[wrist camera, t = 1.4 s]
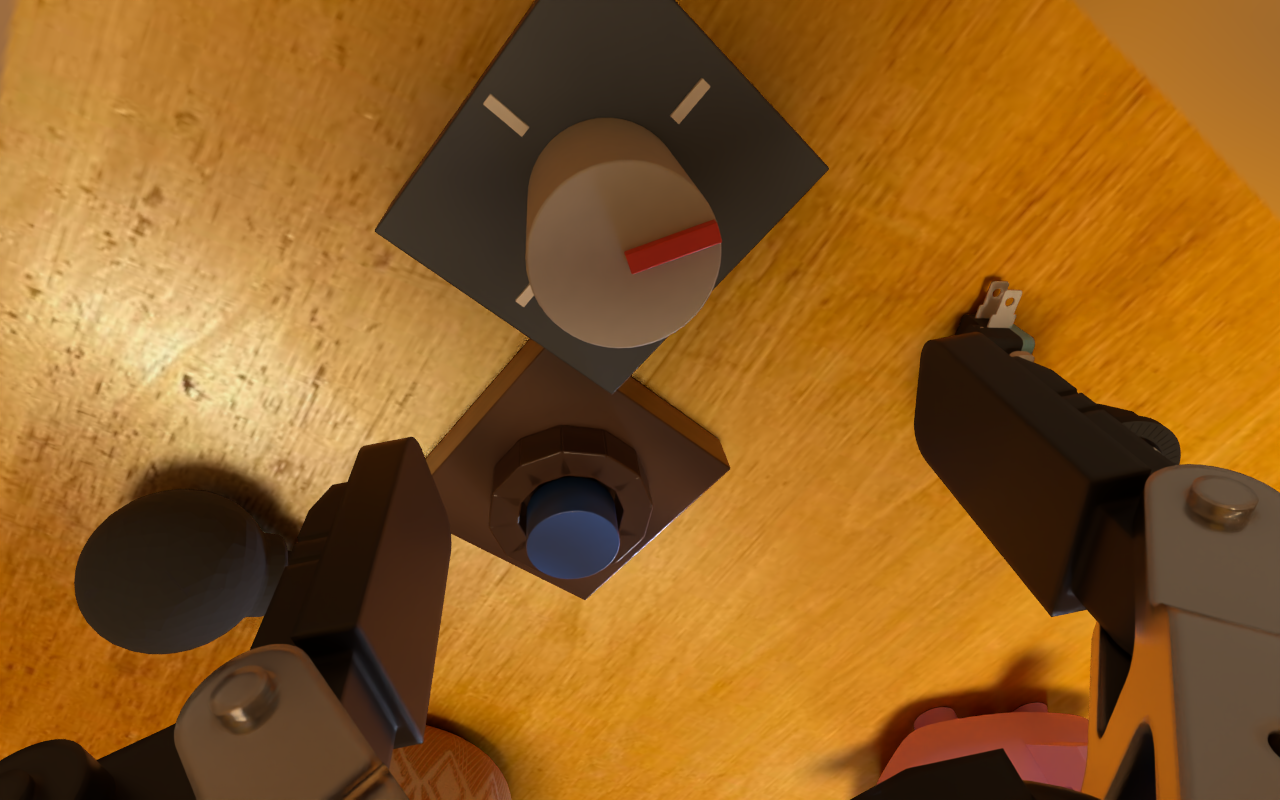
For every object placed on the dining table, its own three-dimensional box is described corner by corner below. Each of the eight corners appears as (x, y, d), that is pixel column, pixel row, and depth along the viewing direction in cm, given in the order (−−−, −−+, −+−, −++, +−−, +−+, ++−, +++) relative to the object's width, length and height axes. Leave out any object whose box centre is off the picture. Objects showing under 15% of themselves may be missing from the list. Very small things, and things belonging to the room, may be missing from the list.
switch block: (548, 317, 27) (550, 365, 24) (720, 439, 31) (742, 495, 28) (409, 476, 30) (393, 539, 27) (582, 567, 35) (587, 631, 31)
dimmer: (562, 293, 23) (569, 379, 18) (501, 150, 21) (491, 206, 16) (700, 244, 23) (744, 317, 18) (657, 92, 20) (695, 130, 15)
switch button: (564, 461, 26) (566, 495, 25) (632, 503, 28) (638, 537, 26) (508, 518, 28) (506, 555, 26) (577, 555, 29) (580, 591, 27)
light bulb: (330, 683, 30) (43, 696, 24) (304, 586, 35) (55, 573, 28) (391, 571, 29) (106, 551, 22) (356, 485, 34) (109, 445, 27)
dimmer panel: (589, -77, 20) (597, -84, 18) (800, 148, 25) (832, 170, 22) (390, 204, 24) (372, 233, 21) (605, 357, 28) (612, 397, 26)
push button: (937, 274, 28) (1106, 403, 20) (1051, 278, 29) (1260, 402, 21) (892, 408, 32) (1021, 566, 23) (995, 408, 33) (1155, 560, 24)
